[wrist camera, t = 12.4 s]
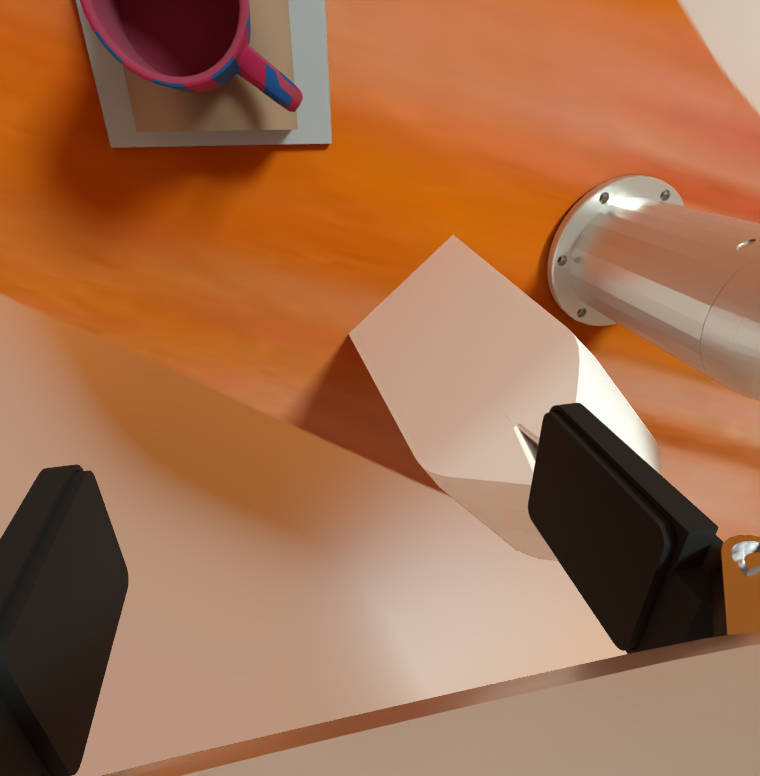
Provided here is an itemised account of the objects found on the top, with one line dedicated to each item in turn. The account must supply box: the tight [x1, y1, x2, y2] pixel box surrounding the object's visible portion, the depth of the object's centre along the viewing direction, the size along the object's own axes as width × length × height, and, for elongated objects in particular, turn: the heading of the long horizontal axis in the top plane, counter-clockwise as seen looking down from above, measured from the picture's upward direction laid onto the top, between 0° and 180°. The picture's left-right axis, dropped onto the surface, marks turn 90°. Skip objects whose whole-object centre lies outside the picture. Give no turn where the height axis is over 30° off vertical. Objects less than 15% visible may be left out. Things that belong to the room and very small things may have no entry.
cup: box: [80, 0, 303, 112], centre depth 24 cm, size 7×10×7 cm
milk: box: [349, 235, 661, 561], centre depth 33 cm, size 12×12×26 cm
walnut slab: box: [122, 0, 298, 132], centre depth 29 cm, size 9×9×4 cm
